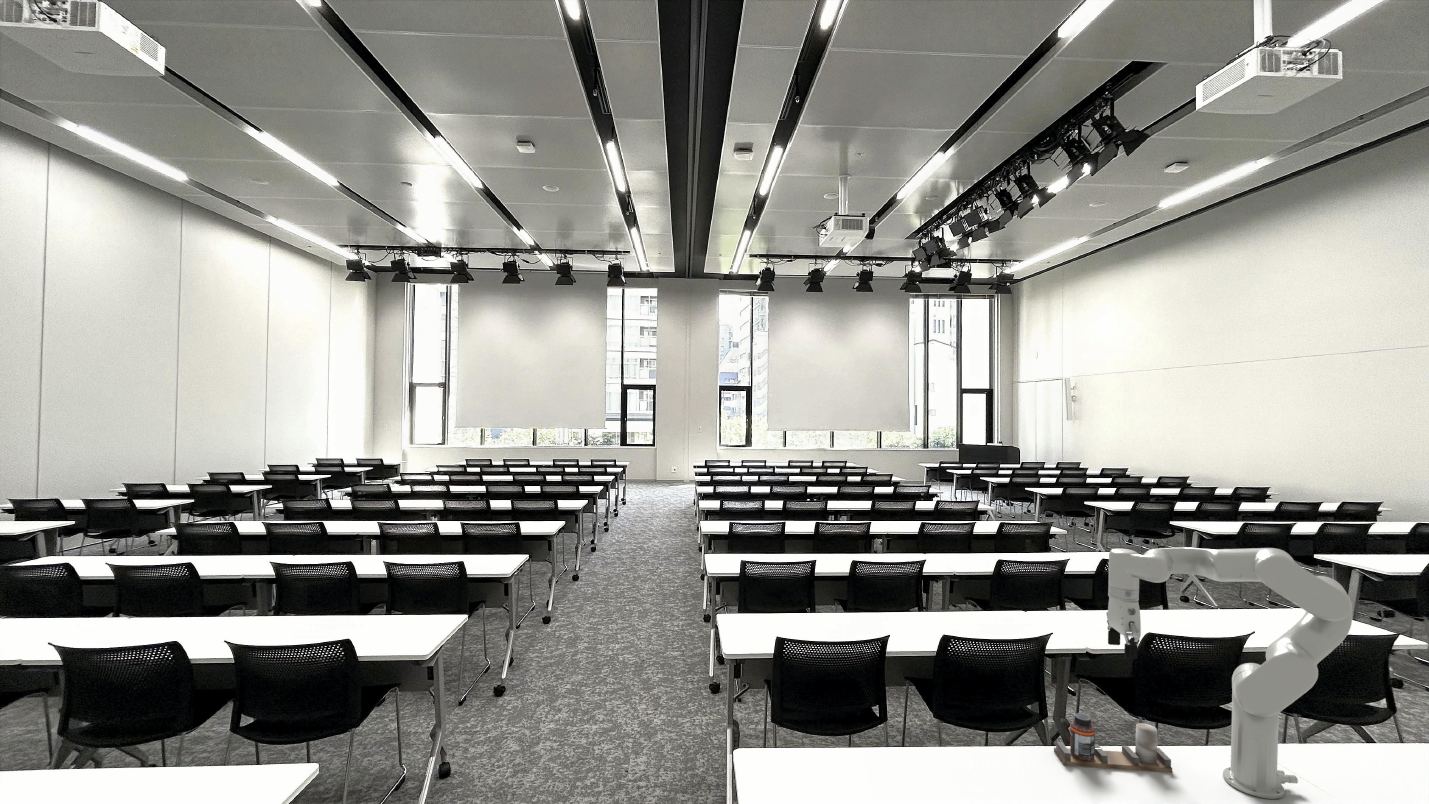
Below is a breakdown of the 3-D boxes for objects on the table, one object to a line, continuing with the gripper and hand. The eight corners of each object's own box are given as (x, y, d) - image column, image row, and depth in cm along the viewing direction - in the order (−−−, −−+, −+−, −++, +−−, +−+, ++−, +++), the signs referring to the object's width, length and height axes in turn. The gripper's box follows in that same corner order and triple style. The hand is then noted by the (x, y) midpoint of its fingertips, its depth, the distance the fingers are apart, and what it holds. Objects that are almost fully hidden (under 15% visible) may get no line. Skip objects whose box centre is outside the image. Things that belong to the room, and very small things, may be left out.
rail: (1158, 758, 188) (1158, 722, 188) (1172, 772, 181) (1173, 735, 181) (1053, 751, 191) (1054, 716, 191) (1063, 765, 184) (1064, 729, 184)
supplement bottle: (1070, 747, 191) (1071, 708, 190) (1094, 753, 188) (1095, 714, 187) (1069, 757, 186) (1070, 717, 185) (1094, 764, 183) (1094, 723, 182)
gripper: (1153, 602, 183) (1152, 664, 183) (1122, 584, 200) (1121, 640, 201) (1124, 601, 184) (1123, 663, 184) (1095, 583, 201) (1094, 639, 201)
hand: (1122, 651), depth 192 cm, fingers open, 9 cm apart
